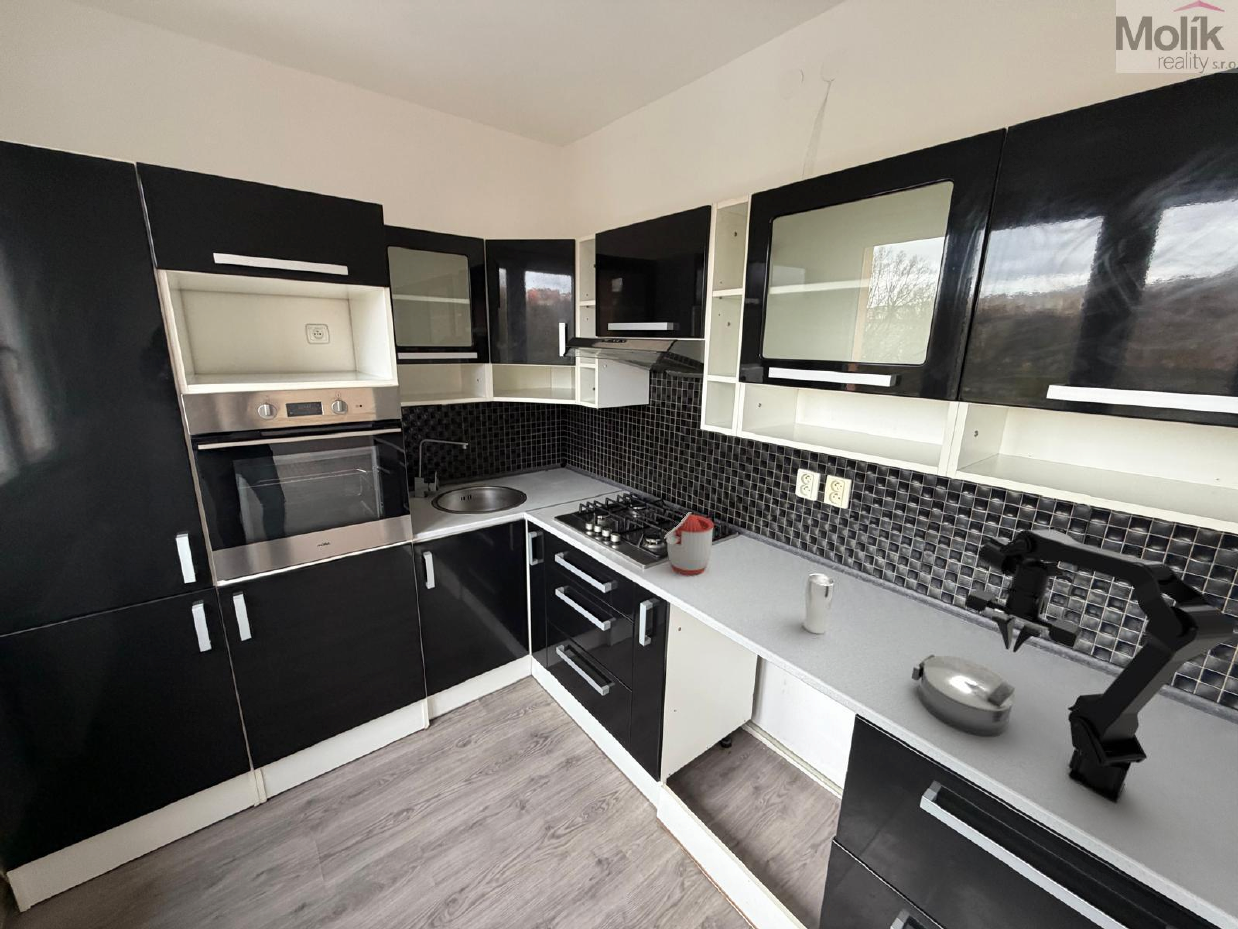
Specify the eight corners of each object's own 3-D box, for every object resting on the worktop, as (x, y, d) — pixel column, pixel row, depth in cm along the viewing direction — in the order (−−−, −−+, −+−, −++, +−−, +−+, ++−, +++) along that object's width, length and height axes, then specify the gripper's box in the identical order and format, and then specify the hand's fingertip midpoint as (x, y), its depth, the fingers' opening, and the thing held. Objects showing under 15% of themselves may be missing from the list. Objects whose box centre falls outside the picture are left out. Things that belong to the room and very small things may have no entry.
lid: (1024, 690, 102) (1027, 682, 102) (996, 723, 94) (998, 715, 93) (939, 650, 115) (941, 642, 115) (907, 675, 107) (909, 667, 106)
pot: (1018, 714, 104) (1024, 691, 103) (989, 749, 95) (996, 724, 94) (931, 670, 118) (936, 649, 116) (899, 697, 109) (904, 674, 107)
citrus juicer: (652, 566, 168) (654, 513, 163) (687, 554, 178) (690, 503, 173) (684, 585, 156) (687, 527, 151) (720, 570, 166) (724, 516, 161)
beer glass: (832, 635, 131) (839, 585, 127) (807, 635, 131) (813, 585, 127) (821, 620, 138) (828, 573, 134) (797, 620, 138) (803, 572, 134)
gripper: (1098, 593, 98) (1077, 659, 102) (989, 559, 113) (975, 618, 117) (1083, 611, 92) (1062, 680, 96) (971, 572, 106) (957, 633, 110)
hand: (1011, 650), depth 105 cm, fingers closed
